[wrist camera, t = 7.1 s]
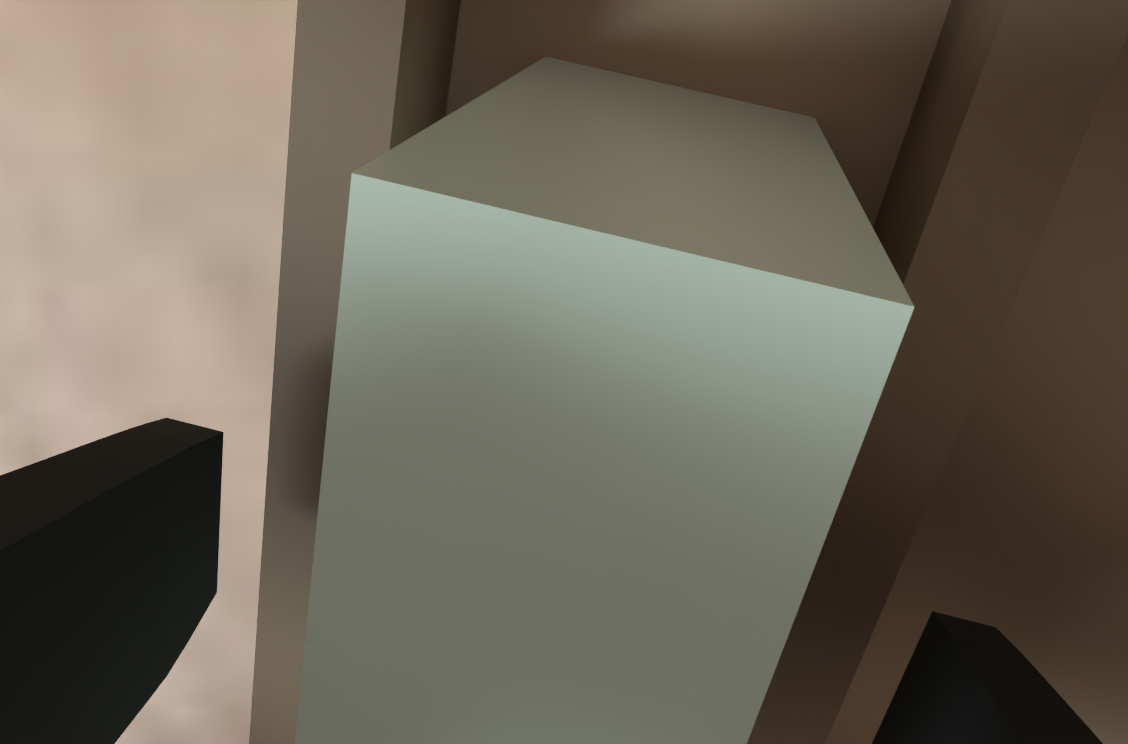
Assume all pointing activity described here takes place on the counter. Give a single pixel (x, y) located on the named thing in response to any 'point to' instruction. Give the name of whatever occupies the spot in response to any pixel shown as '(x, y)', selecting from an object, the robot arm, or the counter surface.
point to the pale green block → (587, 416)
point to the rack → (919, 256)
